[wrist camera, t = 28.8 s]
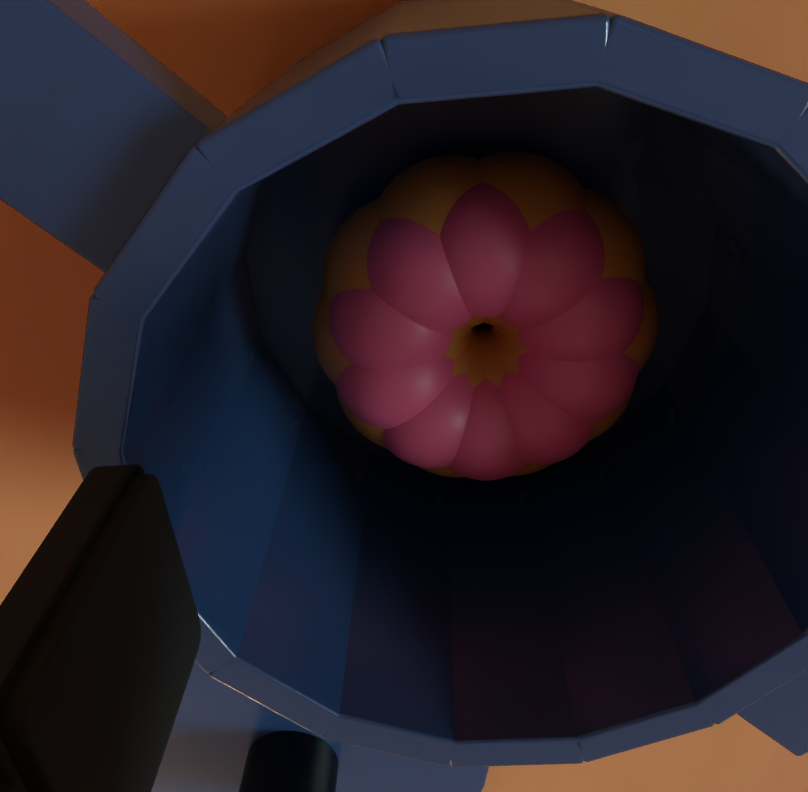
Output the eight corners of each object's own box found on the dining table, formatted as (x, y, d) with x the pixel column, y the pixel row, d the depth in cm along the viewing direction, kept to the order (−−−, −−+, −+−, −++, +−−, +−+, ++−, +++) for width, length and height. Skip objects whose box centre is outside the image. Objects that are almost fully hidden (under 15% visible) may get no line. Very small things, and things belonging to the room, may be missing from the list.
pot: (556, 597, 23) (616, 901, 16) (27, 230, 18) (-257, 422, 10) (915, 320, 18) (1244, 565, 11) (338, -285, 13) (220, -593, 6)
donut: (338, 430, 20) (320, 521, 16) (304, 147, 16) (271, 193, 13) (625, 420, 19) (663, 512, 16) (652, 127, 16) (707, 169, 13)
